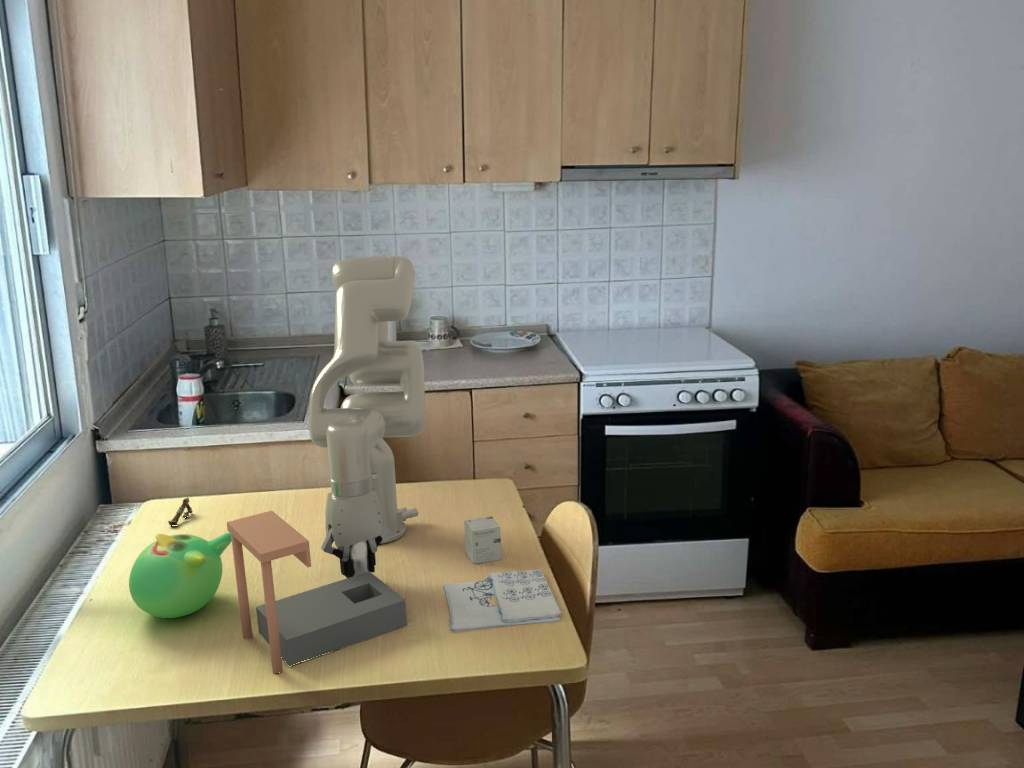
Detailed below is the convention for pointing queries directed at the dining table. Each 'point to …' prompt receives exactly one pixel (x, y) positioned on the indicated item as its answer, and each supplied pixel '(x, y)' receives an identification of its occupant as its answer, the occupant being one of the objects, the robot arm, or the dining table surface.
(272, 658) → the canopy
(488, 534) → the skincare box
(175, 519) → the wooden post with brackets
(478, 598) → the folded cloth
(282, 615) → the socket plate
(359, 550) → the metal peg
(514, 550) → the dining table surface
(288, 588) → the dining table surface
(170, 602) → the toy bird
